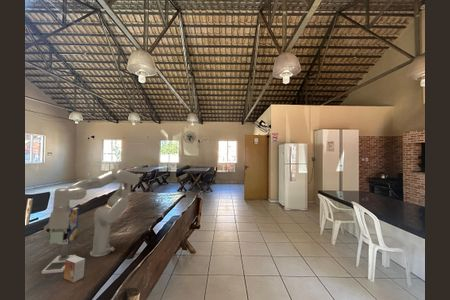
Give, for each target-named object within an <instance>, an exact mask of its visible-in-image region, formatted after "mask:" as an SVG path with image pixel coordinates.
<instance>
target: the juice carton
mask: <svg viewBox="0 0 450 300" xmlns="http://www.w3.org/2000/svg"><path fill="white" fill-rule="evenodd" d="M70 211H71V222H72V223H73V224H74V225H75V227H74V228H72V229H71V230H70V231H69V232H68V238H67V239H66V240H65V241H64V242H62V243H56V244H57V245H69V244H70V243H73V241H74V240H76V239H77V238H78V230H79V229H78V228H79V215H80V207H72V209H70ZM70 227H71V226H69V227H68V229H69V228H70Z"/></svg>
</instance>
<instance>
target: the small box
mask: <svg viewBox="0 0 450 300" xmlns="http://www.w3.org/2000/svg"><path fill="white" fill-rule="evenodd" d="M85 263H86V258H84V257H80V256H78V255H76V256H73V257H71V258H68V259H66V261H65V270H64V271H63V279H64V280H67V281H69V282H72V283H75V282H78V281H79V280H81V279H83V278H84V275H85Z"/></svg>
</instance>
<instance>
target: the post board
mask: <svg viewBox="0 0 450 300" xmlns="http://www.w3.org/2000/svg"><path fill="white" fill-rule="evenodd" d="M68 246H69V244H62V245H61V250H60V252H61V253H60V255H57V256H56V257H55V258H54V259H52V261H51V262H50V263H49V264H48V265H47V266H45V268H43V269H42V271H41V274H42V275H43V274H53V273H56V274H57V273H64V272H65V261H66V259H68V258H71V257H73V256H77V254H68Z"/></svg>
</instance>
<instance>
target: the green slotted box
mask: <svg viewBox="0 0 450 300" xmlns="http://www.w3.org/2000/svg"><path fill="white" fill-rule="evenodd" d="M64 233H65V232H64V229H55V230H54V231H53V232H51V233H50V239H49V243H48V244H51V245H52V244H57V243H62V242H64V241H65V240H63V237H64Z"/></svg>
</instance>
